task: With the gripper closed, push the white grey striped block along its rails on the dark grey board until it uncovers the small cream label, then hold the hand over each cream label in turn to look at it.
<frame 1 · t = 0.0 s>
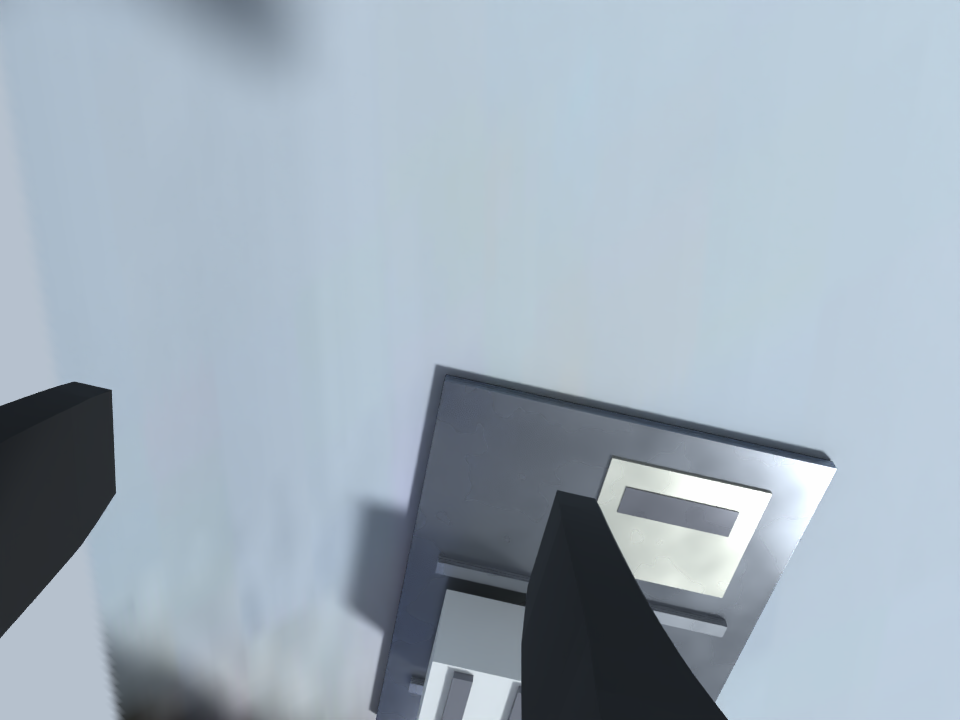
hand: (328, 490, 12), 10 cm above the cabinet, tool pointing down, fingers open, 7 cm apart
white grey striped block: (485, 692, 24), point 3 cm above the cabinet, slide at 0.0 cm
label board: (572, 606, 25), on the cabinet
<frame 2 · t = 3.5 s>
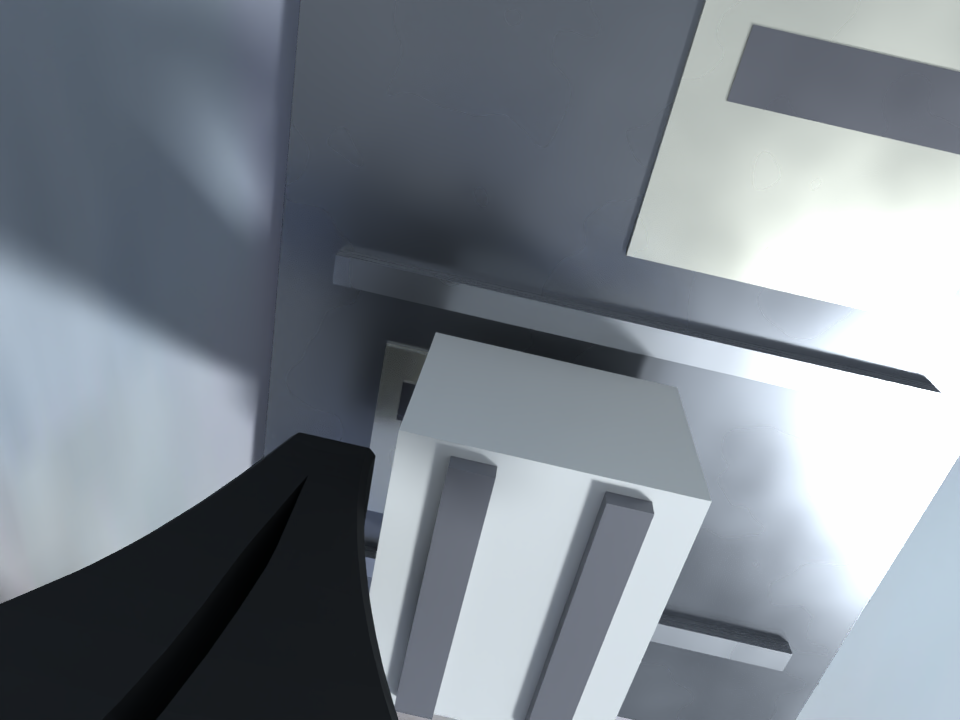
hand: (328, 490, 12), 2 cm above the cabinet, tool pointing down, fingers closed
white grey striped block: (516, 543, 11), point 3 cm above the cabinet, slide at 1.3 cm, touching gripper
label board: (613, 374, 13), on the cabinet
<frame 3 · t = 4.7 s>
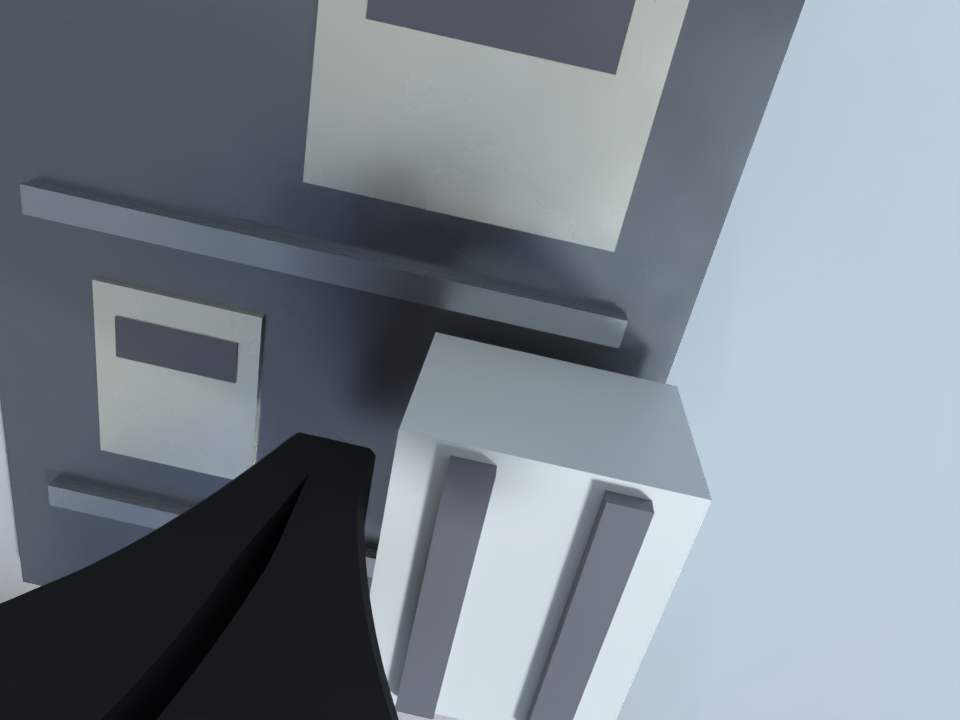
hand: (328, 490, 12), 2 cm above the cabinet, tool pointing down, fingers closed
white grey striped block: (517, 543, 11), point 3 cm above the cabinet, slide at 6.5 cm, touching gripper
label board: (328, 309, 13), on the cabinet
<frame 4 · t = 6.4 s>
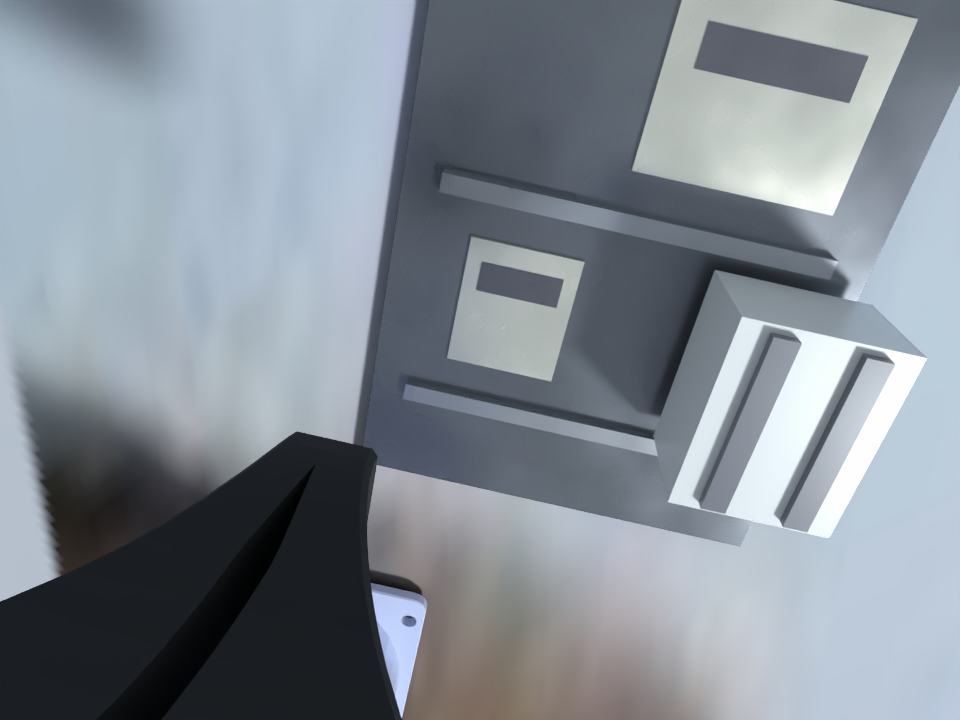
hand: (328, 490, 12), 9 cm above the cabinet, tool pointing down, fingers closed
white grey striped block: (772, 404, 18), point 3 cm above the cabinet, slide at 6.6 cm
label board: (623, 257, 19), on the cabinet
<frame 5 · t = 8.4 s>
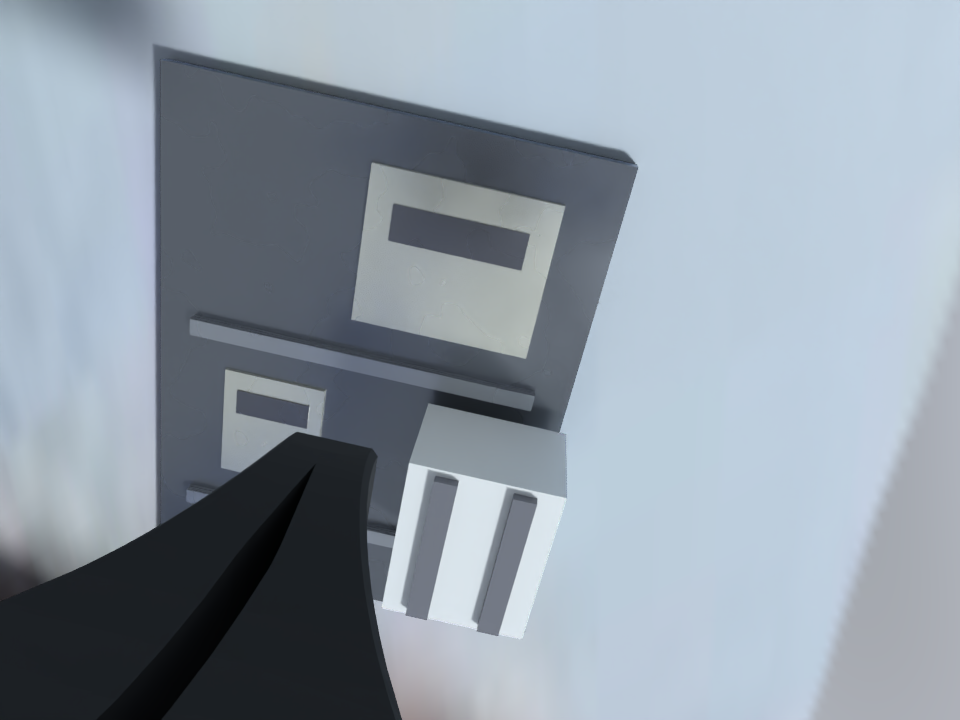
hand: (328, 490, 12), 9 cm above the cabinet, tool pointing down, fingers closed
white grey striped block: (474, 523, 20), point 3 cm above the cabinet, slide at 6.6 cm
label board: (362, 385, 22), on the cabinet
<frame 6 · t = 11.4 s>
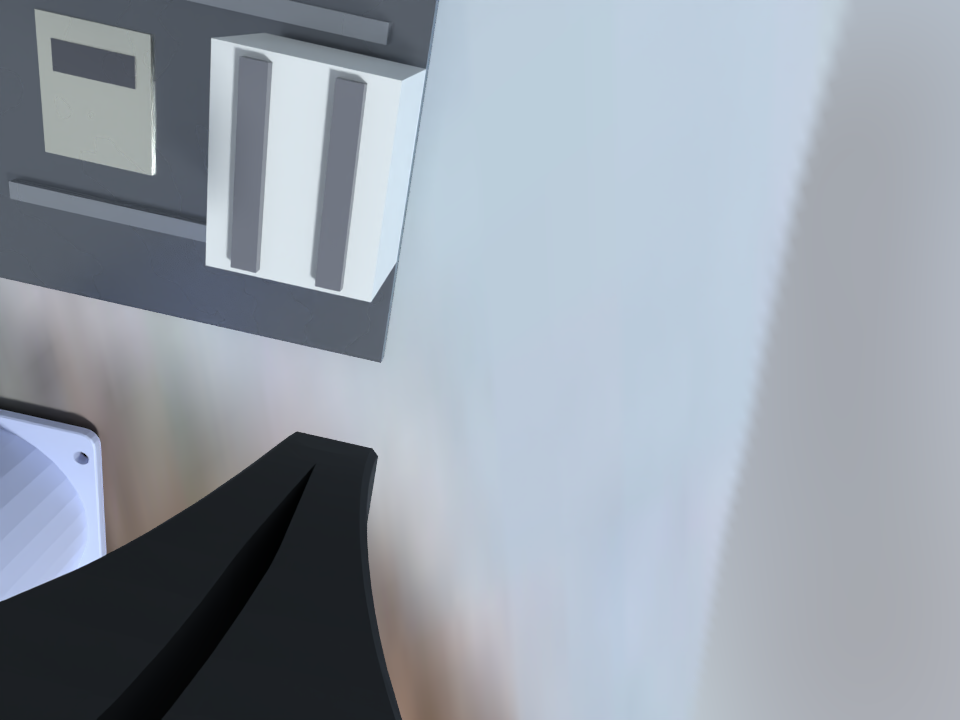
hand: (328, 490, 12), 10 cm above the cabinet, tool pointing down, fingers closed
white grey striped block: (315, 166, 17), point 3 cm above the cabinet, slide at 6.6 cm
label board: (198, 34, 19), on the cabinet
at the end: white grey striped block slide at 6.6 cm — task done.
